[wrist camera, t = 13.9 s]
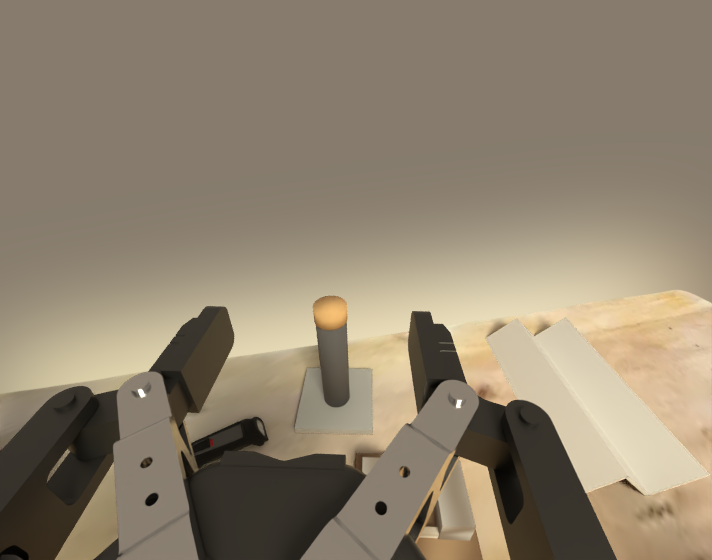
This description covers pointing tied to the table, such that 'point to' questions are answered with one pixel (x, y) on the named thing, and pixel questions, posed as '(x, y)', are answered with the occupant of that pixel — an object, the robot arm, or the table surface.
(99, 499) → the table surface
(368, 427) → the rubber mat
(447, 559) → the clamp block
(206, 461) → the electric trimmer
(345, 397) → the grey orange cylinder
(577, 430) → the z bracket
